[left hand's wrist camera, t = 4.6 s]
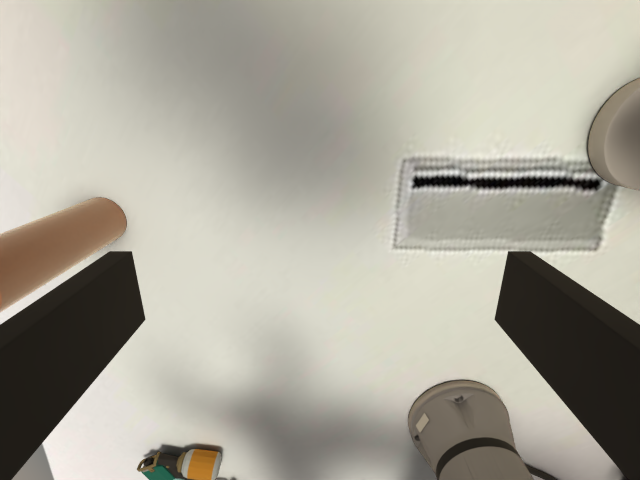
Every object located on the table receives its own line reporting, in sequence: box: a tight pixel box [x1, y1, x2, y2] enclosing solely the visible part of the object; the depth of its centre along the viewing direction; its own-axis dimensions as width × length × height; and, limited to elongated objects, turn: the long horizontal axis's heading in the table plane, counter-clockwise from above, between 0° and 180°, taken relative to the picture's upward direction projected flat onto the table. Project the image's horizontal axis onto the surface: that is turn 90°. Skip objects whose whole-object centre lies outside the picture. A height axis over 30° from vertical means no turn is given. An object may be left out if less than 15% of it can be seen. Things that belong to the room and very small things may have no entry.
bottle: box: [0, 197, 126, 312], centre depth 34 cm, size 6×6×25 cm
